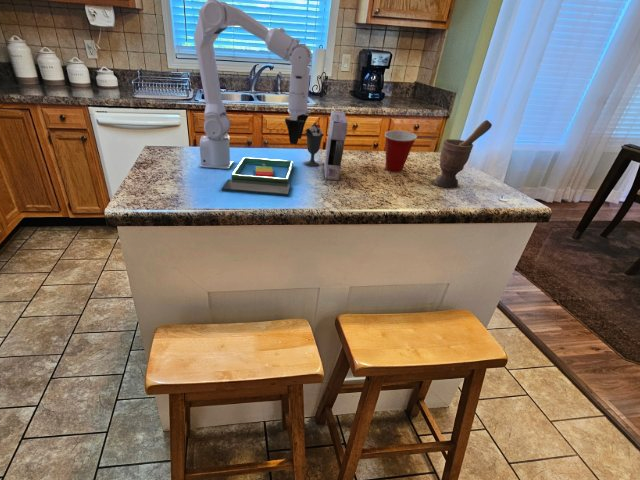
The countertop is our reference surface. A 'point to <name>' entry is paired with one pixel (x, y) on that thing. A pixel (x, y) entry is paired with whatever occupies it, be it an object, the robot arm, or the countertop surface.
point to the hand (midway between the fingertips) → (295, 141)
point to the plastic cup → (398, 149)
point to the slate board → (256, 187)
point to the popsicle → (264, 171)
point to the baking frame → (260, 178)
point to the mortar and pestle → (457, 156)
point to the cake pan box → (335, 145)
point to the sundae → (313, 142)
